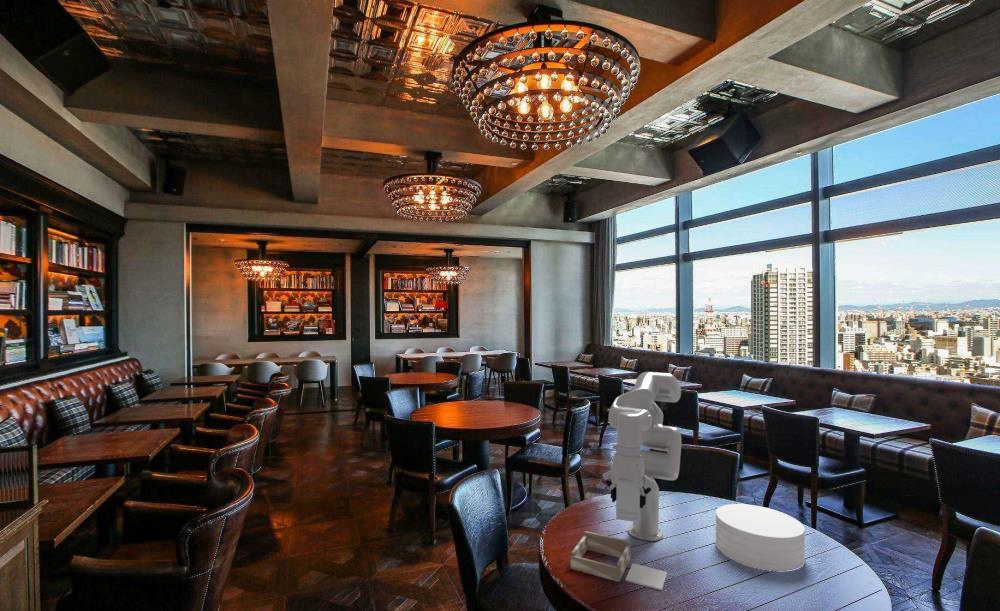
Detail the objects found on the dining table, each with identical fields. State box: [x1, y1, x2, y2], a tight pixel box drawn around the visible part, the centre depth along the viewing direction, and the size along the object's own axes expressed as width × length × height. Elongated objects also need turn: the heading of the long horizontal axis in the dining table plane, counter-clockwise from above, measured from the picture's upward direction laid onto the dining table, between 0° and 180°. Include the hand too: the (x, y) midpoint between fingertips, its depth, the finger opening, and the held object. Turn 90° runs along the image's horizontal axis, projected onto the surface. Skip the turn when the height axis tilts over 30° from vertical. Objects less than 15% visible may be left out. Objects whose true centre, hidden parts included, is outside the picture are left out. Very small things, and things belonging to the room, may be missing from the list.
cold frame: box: [570, 530, 632, 583], centre depth 161 cm, size 16×16×6 cm
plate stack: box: [714, 503, 806, 571], centre depth 171 cm, size 28×28×12 cm
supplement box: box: [615, 479, 640, 523], centre depth 157 cm, size 7×7×13 cm
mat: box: [625, 562, 668, 591], centre depth 153 cm, size 11×11×1 cm
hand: (627, 503), depth 157 cm, fingers closed on supplement box, 8 cm apart
